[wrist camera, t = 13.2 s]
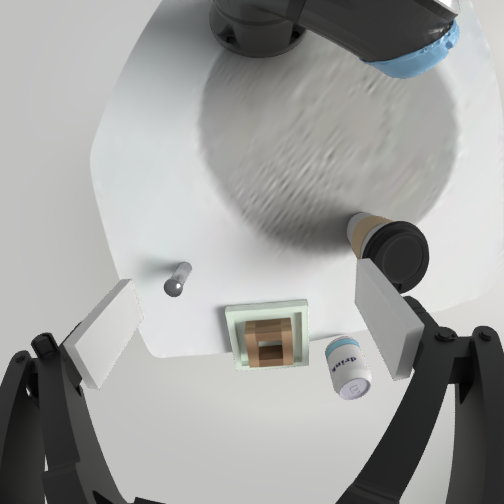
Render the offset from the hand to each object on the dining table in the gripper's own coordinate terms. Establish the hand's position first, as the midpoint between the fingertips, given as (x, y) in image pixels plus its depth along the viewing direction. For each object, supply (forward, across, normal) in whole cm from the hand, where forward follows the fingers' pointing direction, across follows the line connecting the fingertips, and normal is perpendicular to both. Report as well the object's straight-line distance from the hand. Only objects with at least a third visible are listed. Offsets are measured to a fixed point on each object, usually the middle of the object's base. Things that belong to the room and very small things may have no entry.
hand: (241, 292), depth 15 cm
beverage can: (+29, +14, -30) cm, 44 cm away
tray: (+29, 0, -25) cm, 38 cm away
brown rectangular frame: (+28, 0, -25) cm, 38 cm away
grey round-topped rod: (+29, -13, -10) cm, 33 cm away
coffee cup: (+29, +17, -6) cm, 34 cm away
